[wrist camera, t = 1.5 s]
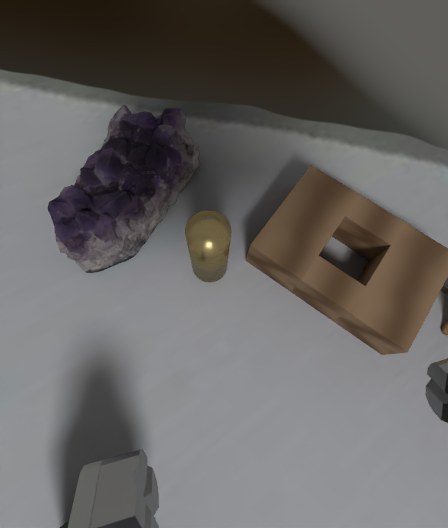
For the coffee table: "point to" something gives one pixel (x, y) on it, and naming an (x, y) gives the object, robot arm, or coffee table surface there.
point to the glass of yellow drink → (208, 244)
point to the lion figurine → (447, 327)
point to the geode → (124, 188)
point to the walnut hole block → (363, 242)
